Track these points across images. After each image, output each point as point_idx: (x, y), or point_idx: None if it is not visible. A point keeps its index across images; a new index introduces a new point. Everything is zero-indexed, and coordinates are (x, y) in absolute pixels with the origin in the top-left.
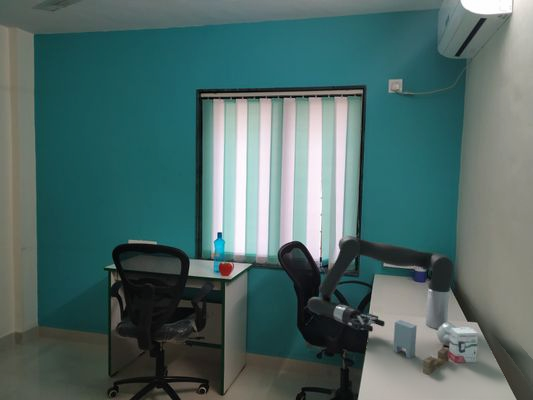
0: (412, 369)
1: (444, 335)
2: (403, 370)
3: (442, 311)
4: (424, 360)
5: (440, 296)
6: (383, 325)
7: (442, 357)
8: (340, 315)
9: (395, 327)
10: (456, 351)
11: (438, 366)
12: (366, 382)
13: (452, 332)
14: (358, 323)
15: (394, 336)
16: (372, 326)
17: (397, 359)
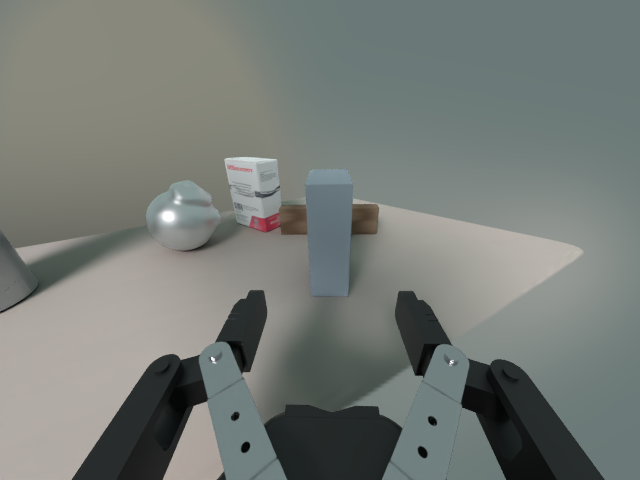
0: (388, 243)
1: (211, 213)
2: (413, 248)
3: None
4: (378, 207)
5: None
6: (266, 307)
7: None
8: None
9: (351, 205)
10: (281, 201)
11: None
12: (560, 262)
13: (264, 168)
14: (517, 376)
15: (349, 243)
16: (400, 291)
17: (381, 272)
